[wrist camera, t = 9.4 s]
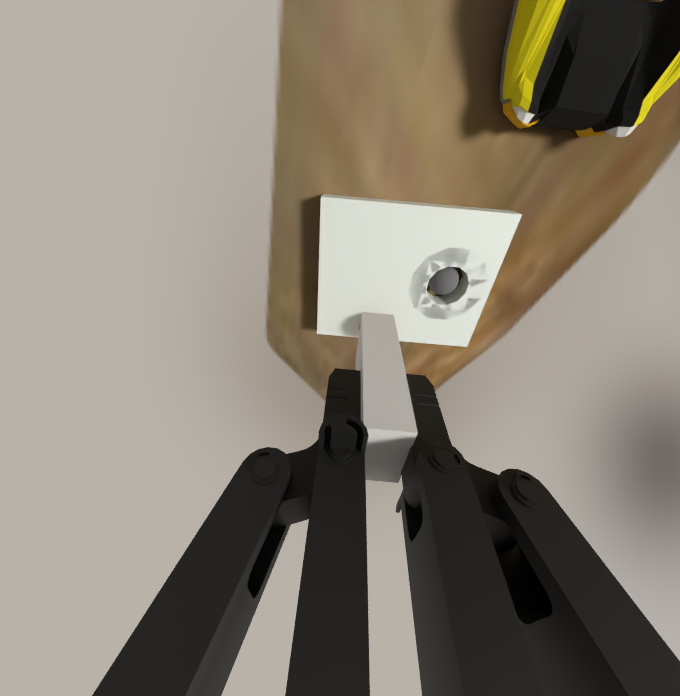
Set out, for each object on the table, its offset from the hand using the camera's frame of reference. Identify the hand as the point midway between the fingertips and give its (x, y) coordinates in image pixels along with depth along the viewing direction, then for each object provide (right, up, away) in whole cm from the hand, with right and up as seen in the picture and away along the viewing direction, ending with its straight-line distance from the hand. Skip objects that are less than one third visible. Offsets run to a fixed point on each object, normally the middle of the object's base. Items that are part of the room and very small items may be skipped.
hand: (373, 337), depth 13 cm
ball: (+10, +7, +18) cm, 22 cm away
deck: (+6, +8, +20) cm, 23 cm away
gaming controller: (+18, +24, +9) cm, 31 cm away
